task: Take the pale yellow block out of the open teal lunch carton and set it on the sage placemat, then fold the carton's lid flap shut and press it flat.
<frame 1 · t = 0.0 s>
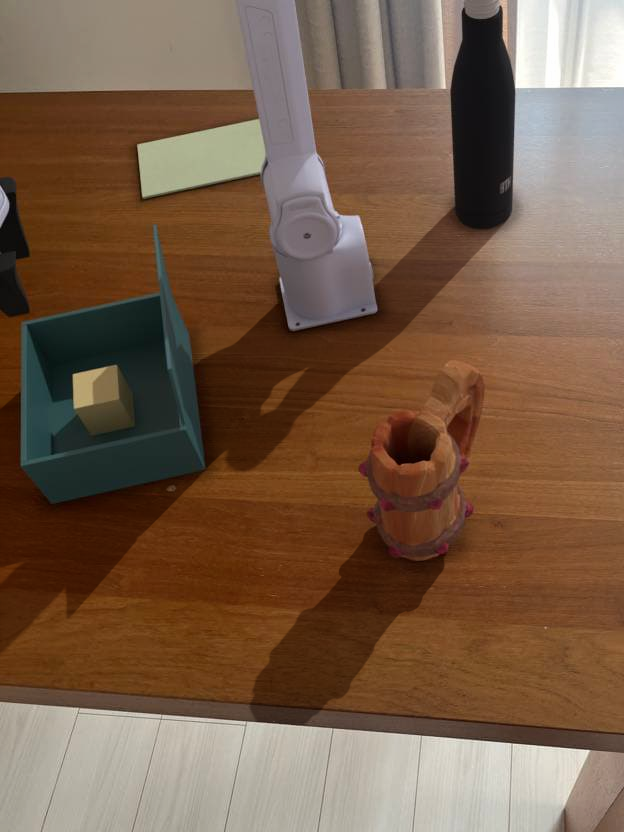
hand: (19, 284, 85), 10 cm above the table, tool pointing down, fingers open, 7 cm apart
block: (112, 414, 89), resting on carton
black insulated flask: (483, 211, 100), on the table
flap: (168, 323, 80), point 11 cm above the table, hinge at 98.0°
carton: (124, 415, 89), on the table
placemat: (205, 158, 108), on the table
mug: (437, 510, 81), on the table
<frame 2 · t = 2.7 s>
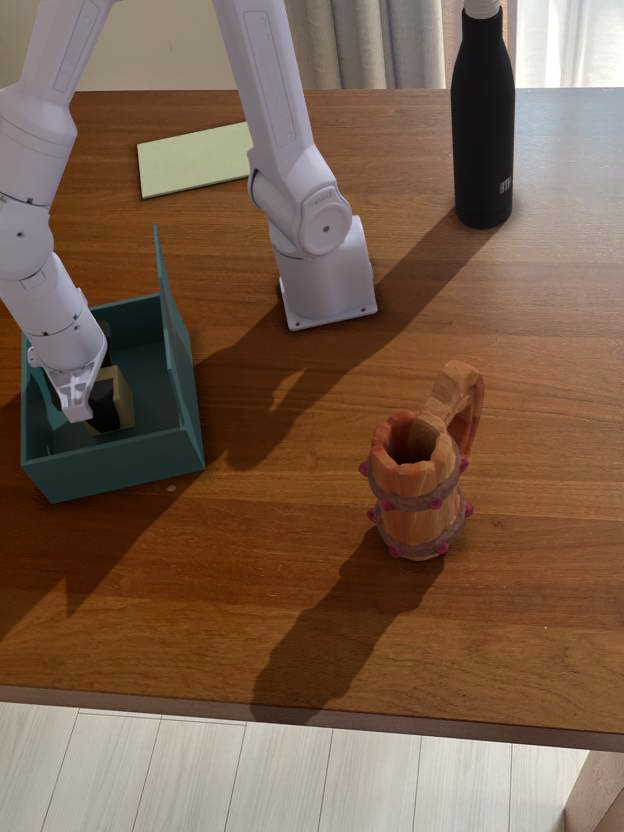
hand: (109, 408, 88), 1 cm above the table, tool pointing down, fingers closed on block, 4 cm apart
block: (112, 414, 89), point 1 cm above the table, touching carton, gripper
everything else where it was.
when the fingers open (1 cm above the table, at t = 9.4 s): block stays where it is, resting on placemat.
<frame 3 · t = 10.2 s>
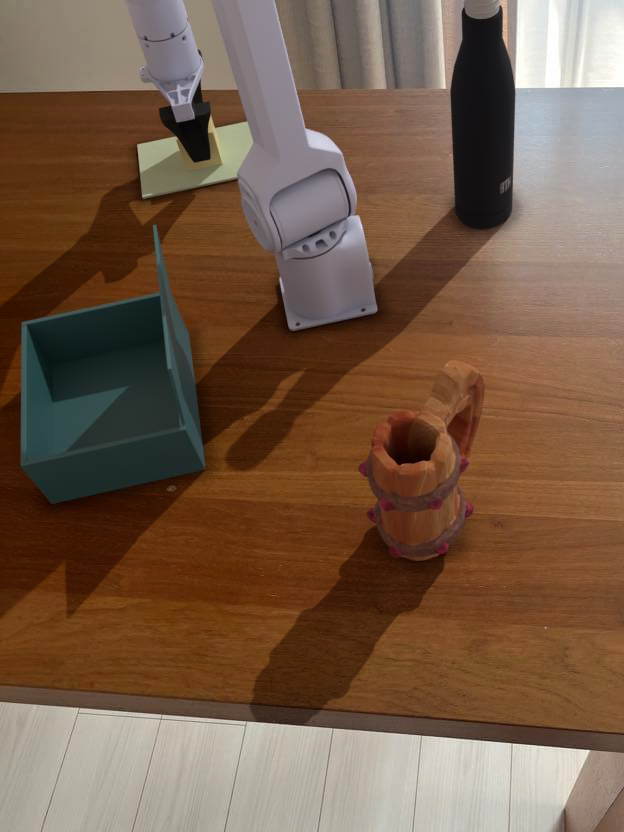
hand: (198, 139, 105), 3 cm above the table, tool pointing down, fingers open, 7 cm apart
block: (203, 156, 107), resting on placemat
everything else where it was.
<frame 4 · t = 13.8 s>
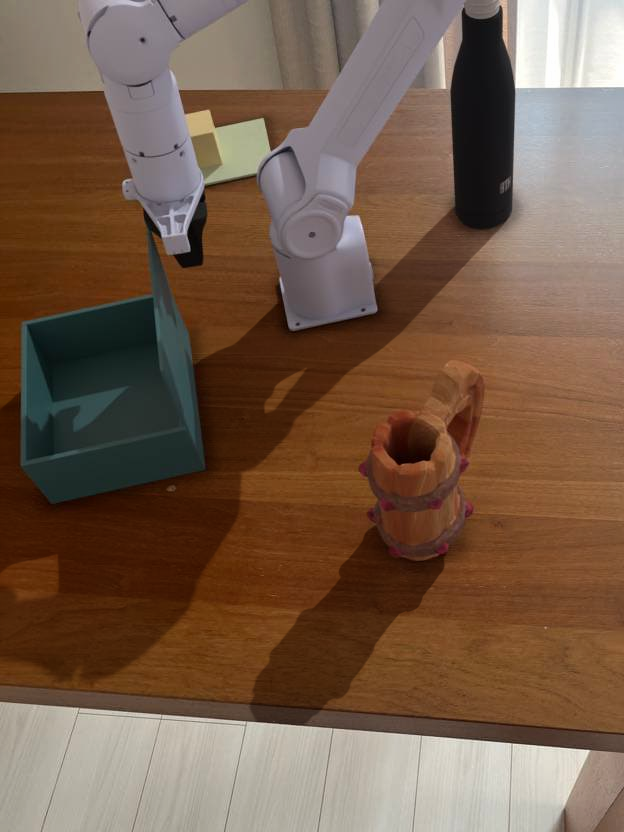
hand: (191, 261, 86), 9 cm above the table, tool pointing down, fingers closed
flap: (165, 323, 80), point 11 cm above the table, hinge at 93.2°
everything else where it was.
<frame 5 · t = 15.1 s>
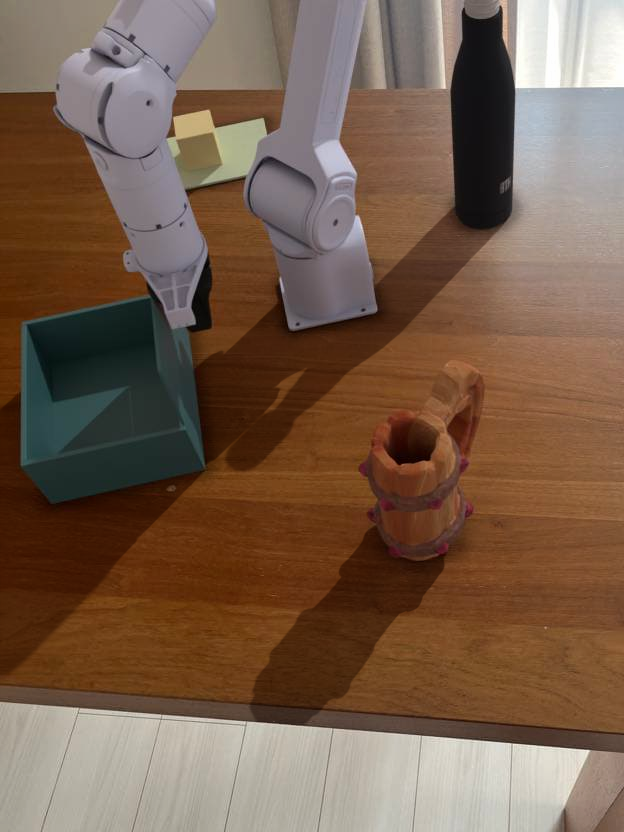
hand: (200, 325, 83), 9 cm above the table, tool pointing down, fingers closed, pressing on flap
flap: (164, 324, 80), point 11 cm above the table, hinge at 91.6°, touching gripper
everything else where it was.
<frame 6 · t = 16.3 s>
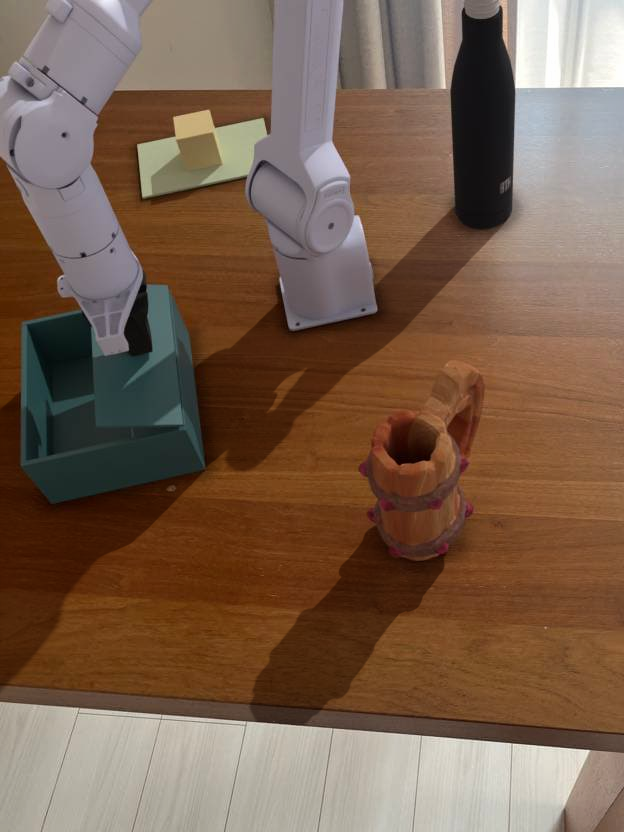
hand: (141, 348, 82), 8 cm above the table, tool pointing down, fingers closed, pressing on flap
flap: (134, 351, 82), point 8 cm above the table, hinge at 18.2°, touching gripper
everything else where it was.
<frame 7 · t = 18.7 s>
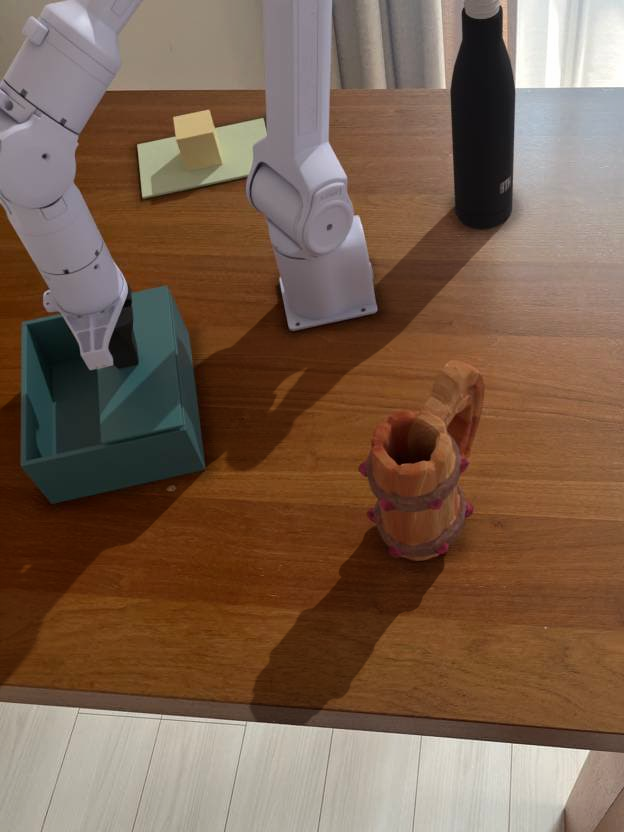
hand: (127, 361, 83), 7 cm above the table, tool pointing down, fingers closed, pressing on flap
flap: (136, 360, 83), point 7 cm above the table, hinge at 0.3°, touching gripper
everything else where it was.
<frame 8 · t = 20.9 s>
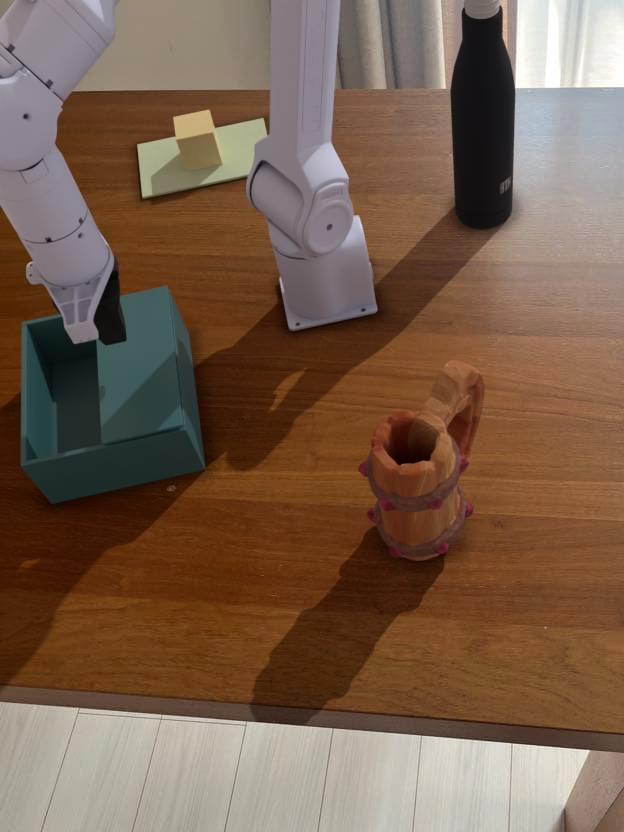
hand: (115, 338, 80), 10 cm above the table, tool pointing down, fingers closed
flap: (136, 361, 83), point 7 cm above the table, hinge at -0.7°
everything else where it was.
at the end: block inside the target area on the placemat (0.1 cm from its centre), point 0.3 cm above the placemat's base; flap at -1° (first picture: +98°); the gripper is holding nothing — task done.
